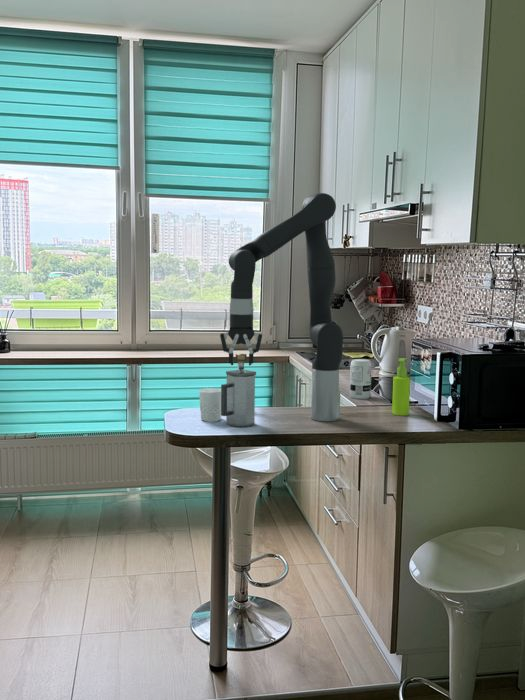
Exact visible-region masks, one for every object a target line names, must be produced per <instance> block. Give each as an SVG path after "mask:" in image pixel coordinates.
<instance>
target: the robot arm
mask: <svg viewBox="0 0 525 700" xmlns="http://www.w3.org/2000/svg"><path fill="white" fill-rule="evenodd" d="M336 209H337V203H336V201H335V199H334V197H333V196H332V195H331V194H328V193H324V192H319V193H314V194H311V195H308V196H307V197H306V198H305V199H304V200H303V202H302V205H301V210H299V211H298V212H296V213H294V214H293V215H291V216H290V217H289V218H287V219H284V220H283V221H280V222H279V223H277V224H275V225H274V226H271V227H270V228H269V229H267V230H265V231H264V232H263V233H261V234H260V235H258V236H257V237H255V238H254V239H253V240H252V241H250V242H247V243H246V244H244V245H242V246H240V247H239V248H237V249H235V250H234V251H233V252H232V253H231V254H230V255H229V258H228V265H229V267H230V269H232V270H233V271H234V273H233V280H232V281H231V284H230V303H229V330H228V332H220V334H219V337H220V342H221V346H222V351H223V352H225V353H228V363H229V364H230V365H231V366H234V358H235V357H234V349H235V347H236V345H246V347H247V349H248V351H249V354H248V366H252V364H254V354H255V353H259V351H260V348H261V344H262V343H261V342H262V338H263V334H262V333H261V332H260V333H258V332H255V331H254V302H253V300H254V299H253V297H254V296H253V295H254V293H253V291H254V290H253V287H254V286H253V285H254V279H255V274H256V273H255V272H256V266H257V264H256V263H257V262H259V261H260V260H262V259H265V258H267V257H270V256H271V255H273V254H274V253H275V252H277V251H278V250H279V249H281V248H282V247H283V246H286V244H288V243H289V242H291V241H293V240H294V239H295V238H296V237H298V236H300V235H301V234H302V233H304V235H305V246H306V247H305V250H306V268H307V269H306V271H307V283H308V294H309V295H308V296H309V297H308V298H309V305H310V306H309V307H310V309H309V310H310V312H309V314H310V315H309V338H310V341H311V342H312V344H313V345H314V346H315V347H316V356H315V358H314V359H313V360H312V364H311V368H312V369H311V397H310V398H311V402H310V403H311V407H310V408H311V409H310V419H311V420H313V421H317V422H318V421H319V422H334V421H337V420H339V419H340V418H341V417H340V416H341V390H340V364H341V363H342V360H343V348H344V347H343V346H344V334H343V333H344V332H343V330H342V328H341V326H340V325H339V324H337V323H335V322H333V321H332V310H331V309H332V307H331V304H332V300H333V296H334V295H333V294H334V291H335V287H336V279H337V278H336V265H335V259H334V256H333V255H334V254H333V253H332V249H331V247H330V244H329V242H328V238H327V231H326V230H327V228H326V227H327V225H326V224H327V222H326V221H329V220H330V219H331V218H333V216H334V215H335V213H336ZM228 336H229V338H230V339H231V340H232V343H231V345H230V347H228V346H227V341H226V340H227V339H228ZM253 337H255V340H256V345H255V348H253V346H252V343H251V341H252V339H253Z"/></svg>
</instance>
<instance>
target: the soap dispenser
mask: <svg viewBox="0 0 525 700" xmlns="http://www.w3.org/2000/svg"><path fill="white" fill-rule="evenodd" d="M406 360H407V358H406V357H400V358H398V360H397V362H398V363H399V366H397V369H396V372H397V373H396V376H393V378H392V399H391V400H392V401H391V402H392V403H391V404H392V405H391V414H392V413H393V414H392V415H394V414H395V416H403V417H404V416H408V415H409V414H410V393H411V391H410V389H411V377H410V376H408V367H406V366H405V365H406Z"/></svg>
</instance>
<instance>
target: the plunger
mask: <svg viewBox="0 0 525 700" xmlns="http://www.w3.org/2000/svg"><path fill="white" fill-rule="evenodd" d="M247 356H248V354H247V353H235V361H236V362H237V370H239V372H243V370H245V362H246V361H247V358H248V357H247Z"/></svg>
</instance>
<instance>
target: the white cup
mask: <svg viewBox="0 0 525 700" xmlns="http://www.w3.org/2000/svg"><path fill="white" fill-rule="evenodd" d="M198 392H199V393H198V394H199V411H200V420H201V421H203V420H204V421H203V422H210V421H211V422H218V420H219V421H221V420H222V416H221V388H215V387H214V388H212V387H211V388H210V387H206V388H201V389H199V391H198ZM220 419H221V420H220Z"/></svg>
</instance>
